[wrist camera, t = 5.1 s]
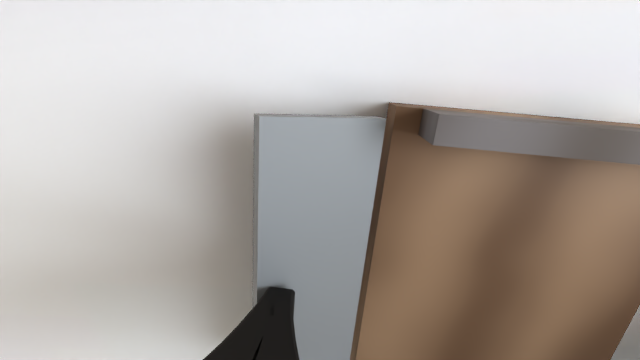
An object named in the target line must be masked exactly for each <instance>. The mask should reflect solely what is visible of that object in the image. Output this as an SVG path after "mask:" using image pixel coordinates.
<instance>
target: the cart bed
mask: <svg viewBox="0 0 640 360" xmlns="http://www.w3.org/2000/svg"><path fill="white" fill-rule="evenodd" d="M639 305H640V125H639V124H628V123H616V122H605V121H594V120H582V119H571V118H560V117H549V116H537V115H526V114H515V113H503V112H492V111H481V110H469V109H458V108H447V107H436V106H424V105H413V104H402V103H390V102H389V105H388V112H387V119H386V126H385V132H384V139H383V145H382V152H381V158H380V165H379V171H378V178H377V185H376V191H375V198H374V204H373V211H372V217H371V224H370V230H369V237H368V243H367V250H366V257H365V263H364V270H363V276H362V283H361V289H360V296H359V302H358V309H357V315H356V322H355V329H354V335H353V342H352V348H351V355H350V360H610V359H611V357H612V355H613V353H614V352H615V350H616V348H617V346H618V344H619V342H620V341H621V339H622V337H623V335H624V333H625V331H626V329H627V328H628V326H629V324H630V322H631V320H632V318H633V316H634V315H635V313H636V311H637V309H638V307H639Z"/></svg>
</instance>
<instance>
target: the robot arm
mask: <svg viewBox="0 0 640 360" xmlns="http://www.w3.org/2000/svg"><path fill="white" fill-rule="evenodd" d="M294 304H295V291H294V290H293V289H286V288H278V287H269V288H268V289H267V290H266V292H265V293H264V295H263V296H262V297H261V299H260V300H259V301H258V303H257V304H256V305H255V306H254V307H253V309H252V310H251V311H250V312H249V313H248V315H247V316H246V317H245V318H244V319H243V320H242V321H241V323H240V324H239V325H238V326H237V327H236V328H235V329H234V330H233V331H232V332H231V333H230V334H229V335H228V336H227V337H226V338H225V339H224V340H223V341H222V343H220V344H219V345H218V346H217V347H216V348H215V349H214V350H213V351H212V352H211V353H210V354H209V355H208V356H207V357H205V358H204V359H203V360H300V359H299V355H298V349H297V344H296V337H295V329H294Z"/></svg>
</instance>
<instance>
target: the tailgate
mask: <svg viewBox="0 0 640 360" xmlns="http://www.w3.org/2000/svg"><path fill="white" fill-rule="evenodd" d="M385 126H386V118H382V117H377V116H337V115H293V114H254V210H253V307H254V306H255V305H256V304H257V303H258V301H259V300H260V299H261V297H262V296H263V295H264V293H265V292H266V290H267V289H268V288H269V287H278V288H286V289H293V290H294V291H295V304H294V329H295V337H296V344H297V349H298V355H299V359H300V360H350V355H351V348H352V342H353V335H354V329H355V322H356V315H357V309H358V302H359V296H360V289H361V283H362V276H363V270H364V263H365V257H366V250H367V243H368V237H369V230H370V224H371V217H372V211H373V204H374V198H375V191H376V185H377V178H378V171H379V165H380V158H381V152H382V145H383V139H384V132H385Z"/></svg>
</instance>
